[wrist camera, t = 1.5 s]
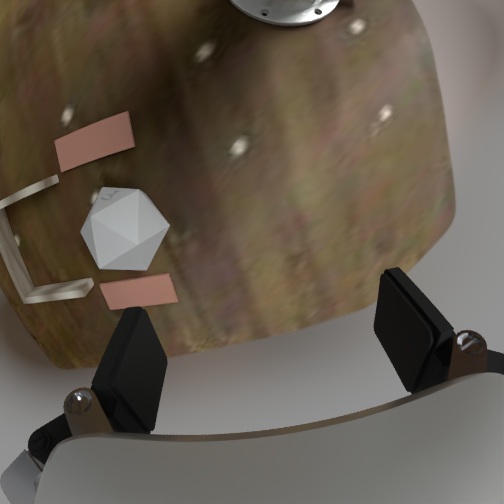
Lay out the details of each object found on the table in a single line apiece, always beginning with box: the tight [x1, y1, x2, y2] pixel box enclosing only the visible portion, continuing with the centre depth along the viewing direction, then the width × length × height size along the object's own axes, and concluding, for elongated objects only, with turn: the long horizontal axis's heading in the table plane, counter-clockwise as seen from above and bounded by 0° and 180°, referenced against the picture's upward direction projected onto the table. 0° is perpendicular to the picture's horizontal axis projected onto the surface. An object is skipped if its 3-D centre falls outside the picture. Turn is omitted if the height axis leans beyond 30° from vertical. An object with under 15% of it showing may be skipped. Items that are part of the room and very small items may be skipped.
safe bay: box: [0, 175, 94, 304], centre depth 28 cm, size 13×15×3 cm
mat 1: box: [55, 111, 135, 172], centre depth 25 cm, size 10×4×1 cm, turn 99°
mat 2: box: [99, 273, 178, 310], centre depth 33 cm, size 10×4×1 cm, turn 99°
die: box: [81, 187, 170, 270], centre depth 26 cm, size 8×9×10 cm
